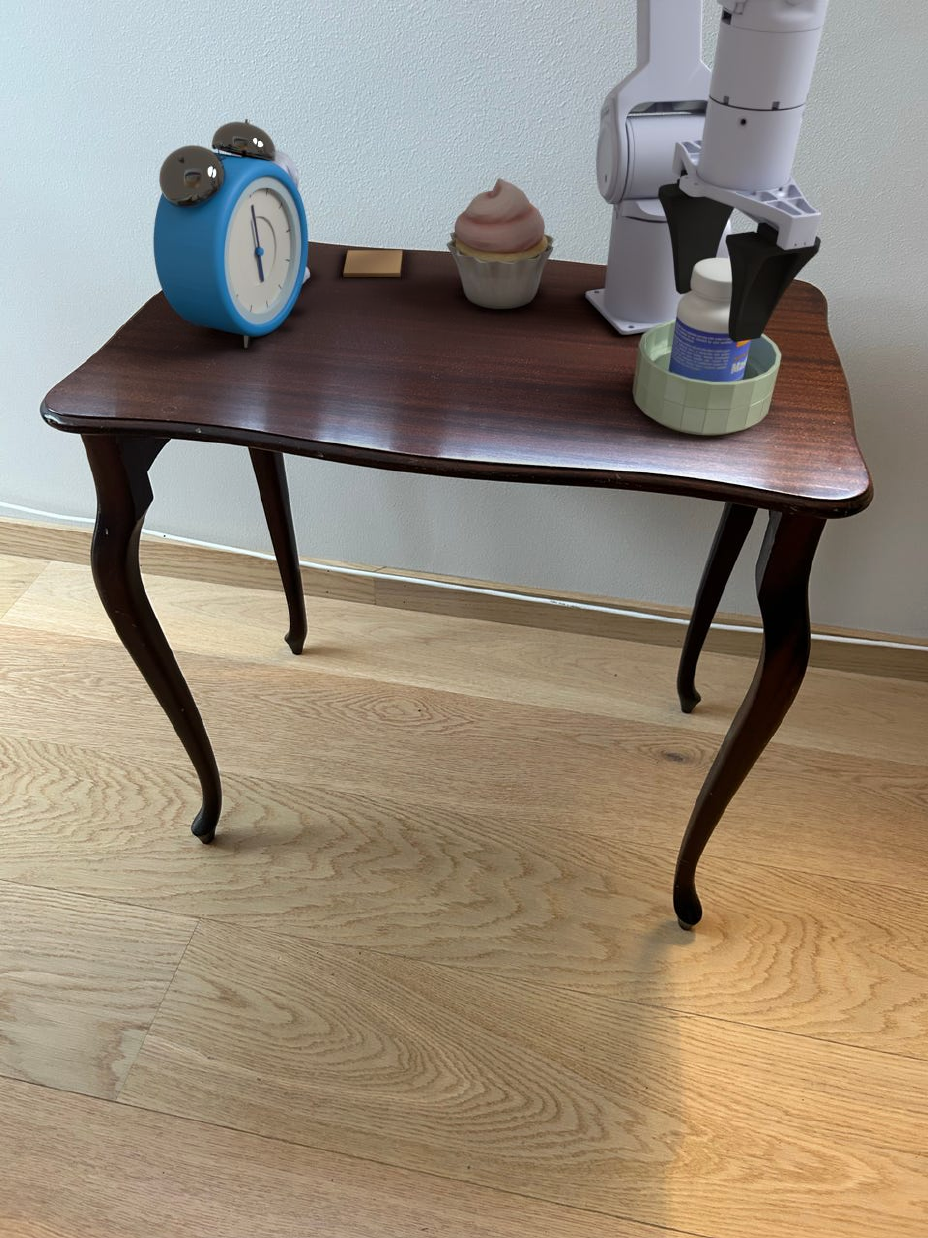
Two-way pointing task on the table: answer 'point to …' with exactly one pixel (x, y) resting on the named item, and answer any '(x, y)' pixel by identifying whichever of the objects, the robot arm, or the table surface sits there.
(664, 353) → the bowl
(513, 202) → the cupcake
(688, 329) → the pill bottle
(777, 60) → the robot arm
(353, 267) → the coaster
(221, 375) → the table surface
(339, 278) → the table surface
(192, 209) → the alarm clock
